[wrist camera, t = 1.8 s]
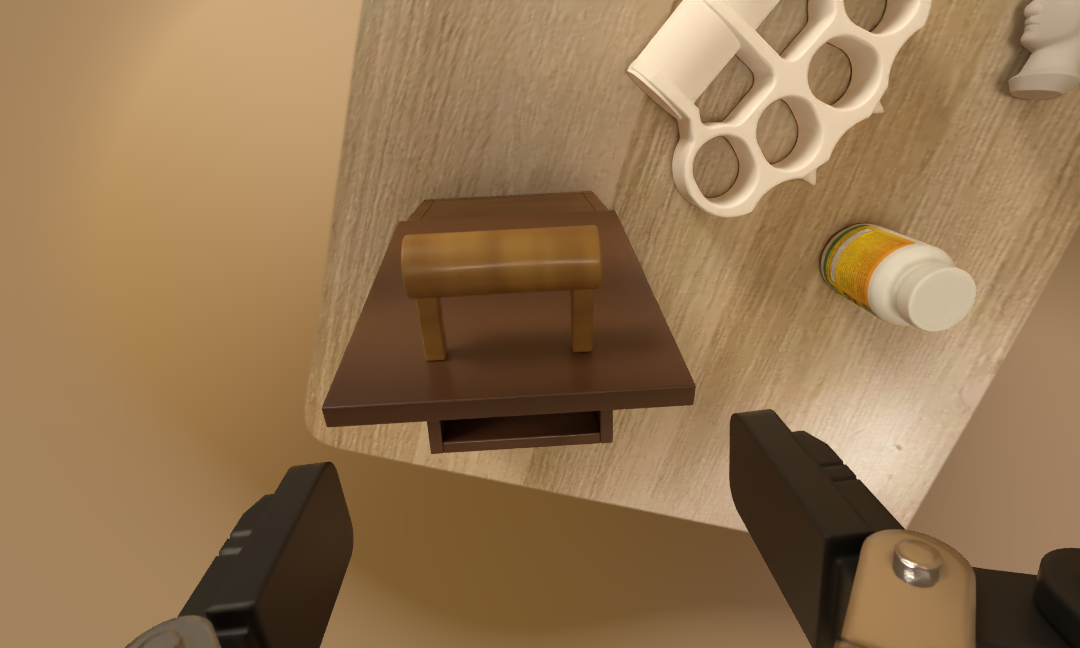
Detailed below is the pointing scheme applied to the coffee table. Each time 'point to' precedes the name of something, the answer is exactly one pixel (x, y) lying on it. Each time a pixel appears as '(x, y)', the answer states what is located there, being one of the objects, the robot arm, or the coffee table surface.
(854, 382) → the coffee table surface
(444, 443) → the chest
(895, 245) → the supplement bottle
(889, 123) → the coffee table surface
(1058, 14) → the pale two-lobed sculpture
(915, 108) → the coffee table surface
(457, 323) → the lid
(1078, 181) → the coffee table surface
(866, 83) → the white brass knuckles
